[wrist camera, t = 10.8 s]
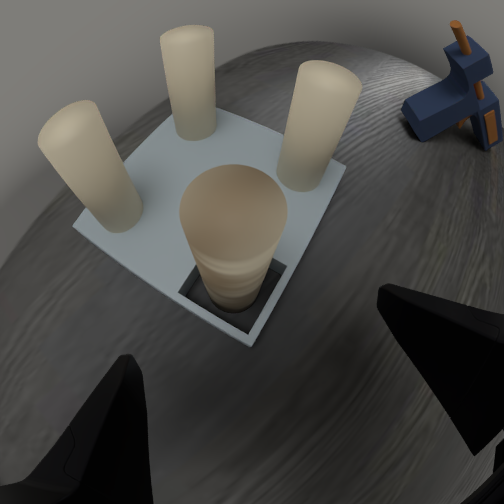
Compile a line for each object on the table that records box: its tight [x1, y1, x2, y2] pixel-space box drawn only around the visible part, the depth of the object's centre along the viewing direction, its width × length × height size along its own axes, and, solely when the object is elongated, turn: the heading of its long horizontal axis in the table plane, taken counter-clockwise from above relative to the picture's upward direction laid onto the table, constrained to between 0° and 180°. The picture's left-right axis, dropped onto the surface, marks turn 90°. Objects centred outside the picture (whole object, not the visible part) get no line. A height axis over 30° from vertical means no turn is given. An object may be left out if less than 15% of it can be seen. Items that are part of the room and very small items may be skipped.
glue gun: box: [401, 20, 503, 151], centre depth 27 cm, size 6×31×15 cm
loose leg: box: [179, 164, 288, 313], centre depth 16 cm, size 4×4×13 cm
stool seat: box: [38, 25, 362, 347], centre depth 19 cm, size 18×18×13 cm
